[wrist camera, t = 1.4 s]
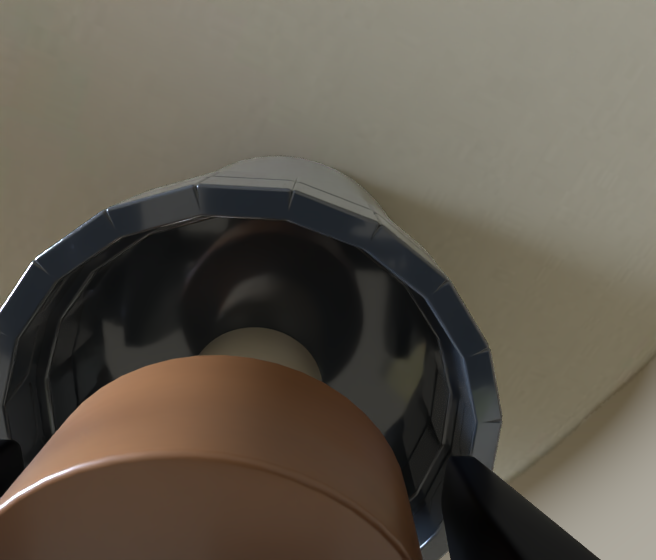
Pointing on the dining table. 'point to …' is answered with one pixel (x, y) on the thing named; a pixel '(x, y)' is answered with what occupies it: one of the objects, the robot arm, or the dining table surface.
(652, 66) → the dining table surface
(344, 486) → the mushroom
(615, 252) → the dining table surface
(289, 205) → the container
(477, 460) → the robot arm
